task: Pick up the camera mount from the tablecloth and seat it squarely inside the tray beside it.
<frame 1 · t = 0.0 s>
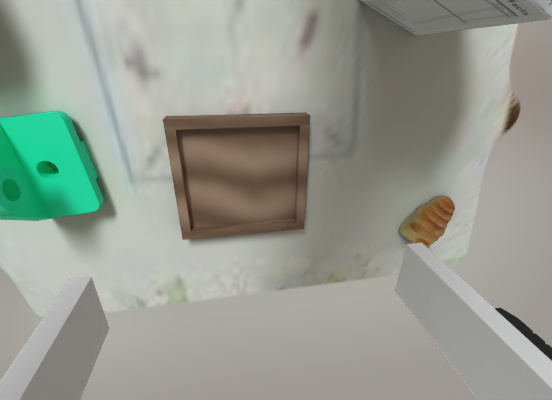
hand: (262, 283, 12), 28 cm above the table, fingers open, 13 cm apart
pastry: (420, 218, 49), on the table
tray: (241, 175, 40), on the table
camera mount: (59, 162, 35), on the table
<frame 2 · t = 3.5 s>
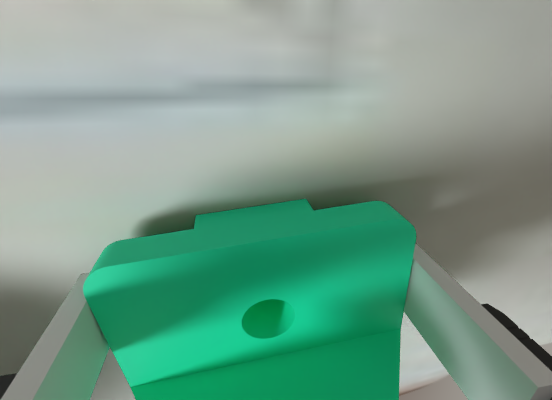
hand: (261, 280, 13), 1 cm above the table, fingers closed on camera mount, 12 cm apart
camera mount: (260, 273, 14), on the table, touching gripper
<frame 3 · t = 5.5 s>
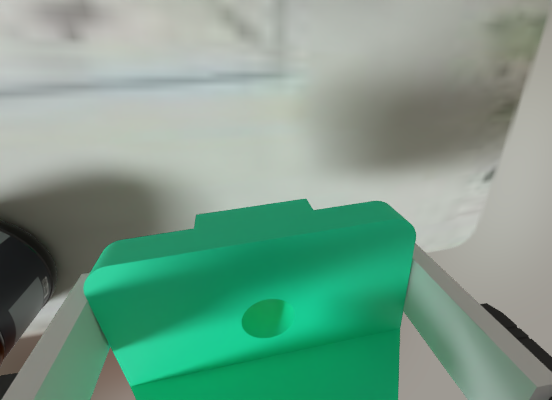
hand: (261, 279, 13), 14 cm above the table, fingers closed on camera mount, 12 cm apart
camera mount: (259, 273, 14), point 12 cm above the table, touching gripper
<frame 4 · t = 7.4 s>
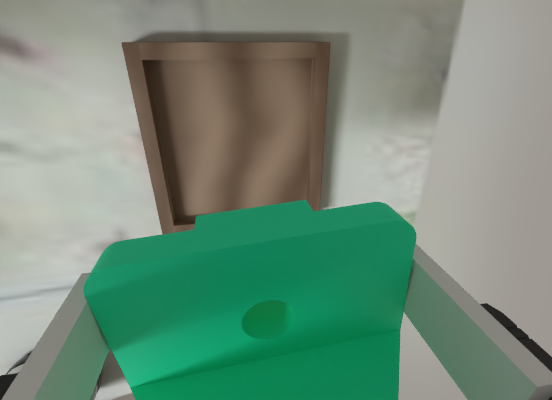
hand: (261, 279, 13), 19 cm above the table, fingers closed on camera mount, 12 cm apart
tray: (237, 143, 29), on the table
camera mount: (259, 274, 14), point 17 cm above the table, touching gripper
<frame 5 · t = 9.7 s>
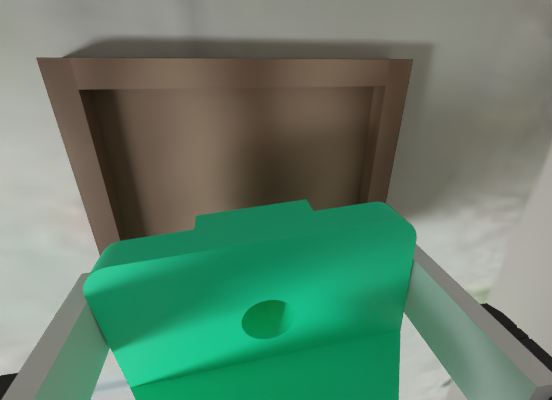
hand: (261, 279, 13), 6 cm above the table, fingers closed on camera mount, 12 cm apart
tray: (247, 211, 18), on the table
camera mount: (260, 274, 14), point 5 cm above the table, touching gripper
when the fingers open (4 cm above the table, at t = 11.3 s): camera mount drops 2 cm, resting on tray.
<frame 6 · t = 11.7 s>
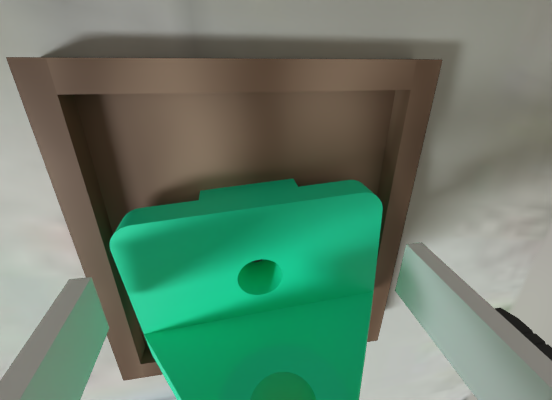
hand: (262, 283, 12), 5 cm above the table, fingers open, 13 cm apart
tray: (251, 227, 17), on the table
camera mount: (254, 244, 16), point 1 cm above the table, touching tray
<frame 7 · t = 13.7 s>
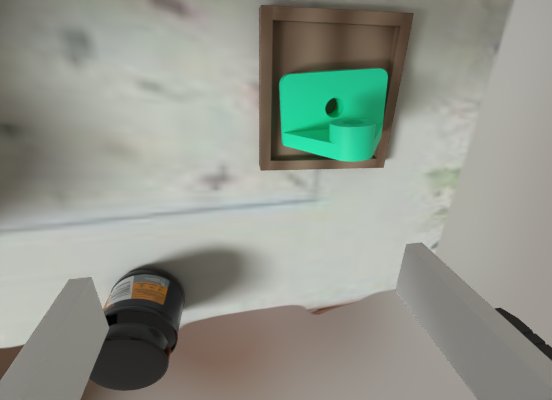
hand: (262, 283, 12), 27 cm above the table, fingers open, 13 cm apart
tray: (326, 96, 35), on the table
supplement container: (151, 292, 45), on the table
camera mount: (327, 104, 35), point 1 cm above the table, touching tray
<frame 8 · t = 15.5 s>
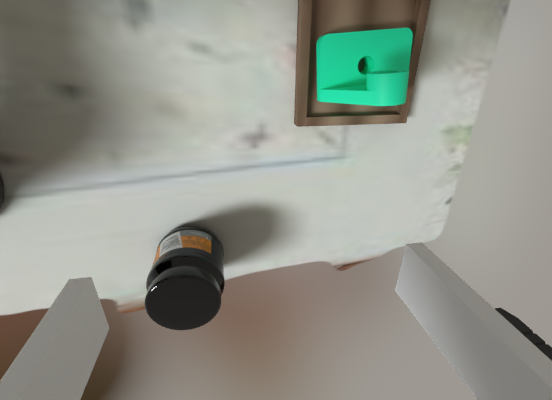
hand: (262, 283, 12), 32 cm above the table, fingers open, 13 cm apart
tray: (355, 56, 39), on the table
supplement container: (191, 249, 48), on the table
camera mount: (356, 65, 39), point 1 cm above the table, touching tray
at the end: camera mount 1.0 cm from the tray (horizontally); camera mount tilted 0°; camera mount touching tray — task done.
